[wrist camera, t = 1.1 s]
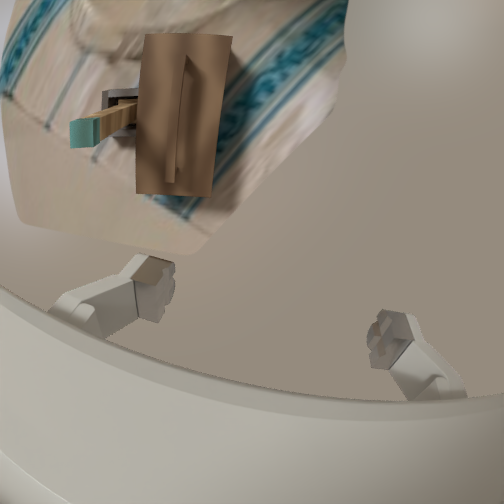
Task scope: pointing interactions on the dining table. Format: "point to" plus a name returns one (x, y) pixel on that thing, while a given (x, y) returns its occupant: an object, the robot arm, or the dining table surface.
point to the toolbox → (177, 112)
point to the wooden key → (102, 123)
